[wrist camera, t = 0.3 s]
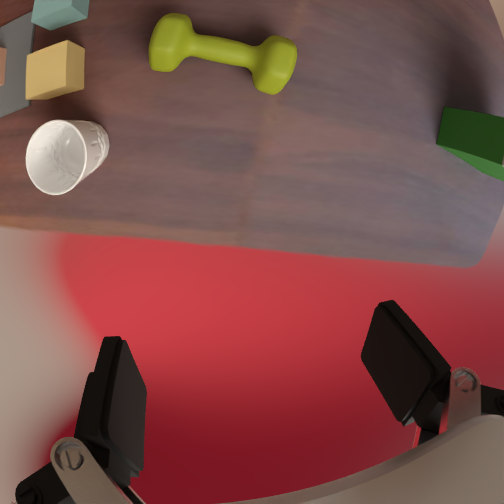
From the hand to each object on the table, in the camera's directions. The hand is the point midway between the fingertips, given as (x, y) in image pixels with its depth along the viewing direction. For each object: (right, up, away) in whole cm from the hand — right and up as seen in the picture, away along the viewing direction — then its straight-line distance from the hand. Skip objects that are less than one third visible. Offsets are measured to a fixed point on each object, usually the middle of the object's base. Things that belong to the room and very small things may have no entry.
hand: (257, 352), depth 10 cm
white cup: (-22, +18, +21) cm, 35 cm away
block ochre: (-25, +27, +16) cm, 40 cm away
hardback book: (+41, +25, +30) cm, 57 cm away
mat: (-39, +30, +11) cm, 50 cm away
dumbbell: (-4, +28, +20) cm, 35 cm away
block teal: (-25, +37, +11) cm, 46 cm away
